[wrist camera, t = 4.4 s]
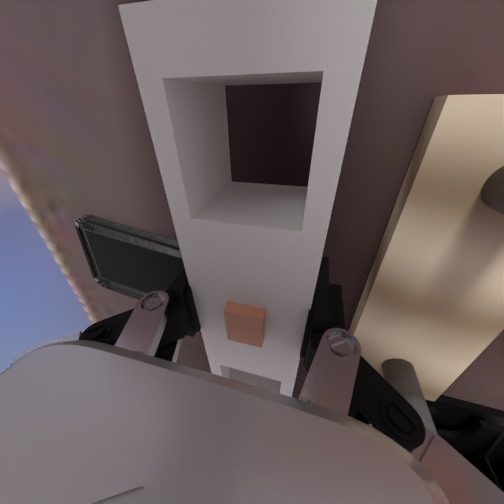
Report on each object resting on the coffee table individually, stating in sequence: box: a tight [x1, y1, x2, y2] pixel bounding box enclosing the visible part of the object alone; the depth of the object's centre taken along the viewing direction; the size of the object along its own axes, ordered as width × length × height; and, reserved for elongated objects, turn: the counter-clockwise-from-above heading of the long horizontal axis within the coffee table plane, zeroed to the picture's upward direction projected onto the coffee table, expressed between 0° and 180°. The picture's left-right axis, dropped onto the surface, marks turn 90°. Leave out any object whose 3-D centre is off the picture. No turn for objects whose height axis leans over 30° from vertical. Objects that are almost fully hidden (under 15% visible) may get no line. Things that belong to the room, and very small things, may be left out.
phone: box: [75, 215, 185, 300], centre depth 19 cm, size 8×1×15 cm
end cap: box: [425, 395, 504, 492], centre depth 17 cm, size 10×7×7 cm
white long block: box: [118, 0, 377, 397], centre depth 11 cm, size 19×5×4 cm, turn 0°
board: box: [348, 94, 504, 435], centre depth 11 cm, size 19×7×6 cm, turn 0°
